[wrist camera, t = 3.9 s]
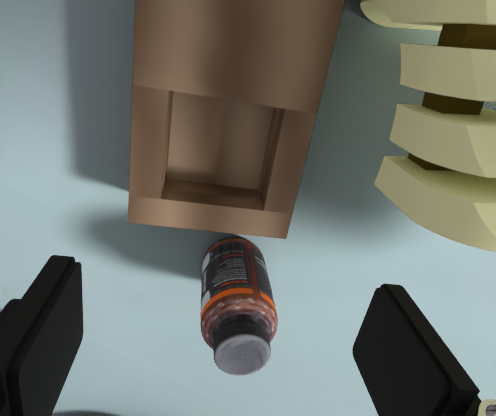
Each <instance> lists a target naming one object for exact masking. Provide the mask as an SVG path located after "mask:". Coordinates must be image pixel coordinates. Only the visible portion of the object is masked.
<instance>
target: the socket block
mask: <svg viewBox="0 0 496 416" xmlns="http://www.w3.org/2000/svg"><path fill="white" fill-rule="evenodd" d="M344 2H345V0H135V24H134V55H133V85H132V115H131V146H130V176H129V207H128V223H136V224H146V225H156V226H165V227H175V228H185V229H195V230H205V231H214V232H224V233H234V234H244V235H254V236H264V237H273V238H283V239H286V237H287V233H288V229H289V225H290V221H291V217H292V213H293V209H294V204H295V200H296V196H297V192H298V188H299V184H300V180H301V176H302V172H303V168H304V164H305V160H306V156H307V152H308V148H309V144H310V140H311V136H312V132H313V128H314V124H315V120H316V116H317V112H318V108H319V103H320V99H321V95H322V91H323V87H324V83H325V79H326V75H327V71H328V67H329V63H330V59H331V55H332V51H333V47H334V43H335V39H336V35H337V31H338V27H339V23H340V19H341V15H342V11H343V7H344Z"/></svg>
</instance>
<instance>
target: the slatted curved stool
mask: <svg viewBox="0 0 496 416" xmlns="http://www.w3.org/2000/svg"><path fill="white" fill-rule="evenodd" d="M360 6H361V10H362V11H363V13H364V14H365V15H366V17H367V18H368V19H370V20H371V21H373V22H374V23H376V24H379V25H381V26H385V27H393V28H407V29H422V30H436V31H441V34H440V37H439V41H438V45H437V46H436V45H420V44H405V43H400V49H401V77H400V85H403V86H407V87H410V88H413V89H417V90H421V91H425V95H424V99H423V103H422V105H409V104H397V107H396V112H395V117H394V122H393V126H392V130H391V134H390V138H389V140H390V141H392V142H393V143H395V144H396V145H398V146H400V147H401V148H403V149H404V150H406V151H408V152H409V156H408V157H406V156H384V158H383V161H382V164H381V167H380V170H379V172H378V175H377V177H376V180H375V182H374V185H375V186H376V187H377V188H378V189H379V190H380V191H381V192H382V193H383V194H384V195H385V196H387V197H388V198H389V199H390V200H391V201H392V202H393V203H394V204H395V205H396V206H397V207H398V208H399V209H400V210H401V211H402V212H403V213H404V214H405V215H407V216H408V217H409V218H410V219H411V220H413V221H414V222H416V223H418V224H419V225H421V226H422V227H424V228H426V229H428V230H430V231H432V232H434V233H436V234H439V235H441V236H443V237H446V238H448V239H451V240H454V241H457V242H460V243H463V244H465V245H469V246H473V247H476V248H480V249H484V250H489V251H493V252H496V110H492V109H487V108H482V106H483V103H484V101H490V102H496V0H361V4H360Z"/></svg>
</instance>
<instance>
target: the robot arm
mask: <svg viewBox="0 0 496 416" xmlns="http://www.w3.org/2000/svg"><path fill="white" fill-rule="evenodd" d="M82 337H83V305H82V272H81V263H80V262H75V259H74V257H68V256H57V255H53V256H51V257H50V259H49V260H48V261H47V263H46V264H45V266H44V267H43V269H42V270H41V271H40V273H39V274H38V276H37V277H36V279H35V280H34V282H33V283H32V284H31V286H30V287H29V289H28V290H27V292H26V293H25V294H24V296H23V297H22V299H12V300H10V301H9V302H8V303H7V304H6V306H5V307H4V308H3V310H2V311H1V312H0V416H51V415H52V412H53V410H54V407H55V405H56V403H57V400H58V398H59V395H60V393H61V390H62V388H63V386H64V383H65V381H66V378H67V376H68V373H69V371H70V368H71V366H72V364H73V361H74V359H75V356H76V354H77V351H78V349H79V347H80V344H81V341H82ZM353 357H354V359H355V362H356V364H357V366H358V369H359V371H360V373H361V376H362V378H363V380H364V383H365V385H366V387H367V390H368V392H369V394H370V397H371V399H372V401H373V403H374V406H375V408H376V410H377V413H378V415H379V416H496V400H494V399H487V400H484V401H481V400H480V399H479V397H478V396H477V395H478V393H479V392H480V390H479V389H478V388H477V386H476V385H475V384H474V382H473V381H472V380H471V378H470V377H469V375H468V374H467V373H466V371H465V370H464V369H463V367H462V366H461V365H460V363H459V362H458V361H457V359H456V358H455V357H454V355H453V354H452V352H451V351H450V350H449V348H448V347H447V346H446V344H445V343H444V342H443V340H442V339H441V338H440V336H439V335H438V334H437V332H436V331H435V329H434V328H433V327H432V325H431V324H430V323H429V321H428V320H427V319H426V317H425V316H424V315H423V313H422V312H421V310H420V309H419V308H418V306H417V305H416V304H415V302H414V301H413V300H412V298H411V297H410V296H409V294H408V293H407V292H406V290H405V289H404V288H403V287H402V286H401V285H393V284H383V285H381V287H380V288H377V289H376V290H375V292H374V295H373V298H372V300H371V303H370V305H369V308H368V310H367V313H366V315H365V318H364V320H363V323H362V325H361V328H360V330H359V333H358V335H357V338H356V340H355V343H354V346H353Z"/></svg>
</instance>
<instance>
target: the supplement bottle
mask: <svg viewBox="0 0 496 416" xmlns="http://www.w3.org/2000/svg"><path fill="white" fill-rule="evenodd" d="M277 326H278V320H277V313H276V309H275V304H274V299H273V295H272V290H271V286H270V282H269V278H268V274H267V269H266V265H265V261H264V258H263V255H262V253H261V251H260V250H259V248H258V247H257V246H256V245H254V244H253V243H251V242H249V241H247V240H244V239H240V238H230V239H225V240H222V241H220V242H218V243H216V244H214V245H213V246H212V247H211V248H210V249H209V250H208V251H207V253H206V254H205V256H204V259H203V265H202V293H201V332H202V336H203V338H204V340H205V342H206V343H207V344H208V345H209V347H211V348H212V349H213V350H214V360H215V363H216V365H217V366H218V367H219V368H220V369H221V370H222V371H224V372H226V373H228V374H231V375H248V374H251V373H254V372H256V371H259V370H260V369H261V368H263V367H264V366H265V365H266V363H267V362H268V361H269V358H270V355H271V349H270V342H271V340H272V339H273V337H274V336H275V333H276V330H277Z"/></svg>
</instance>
